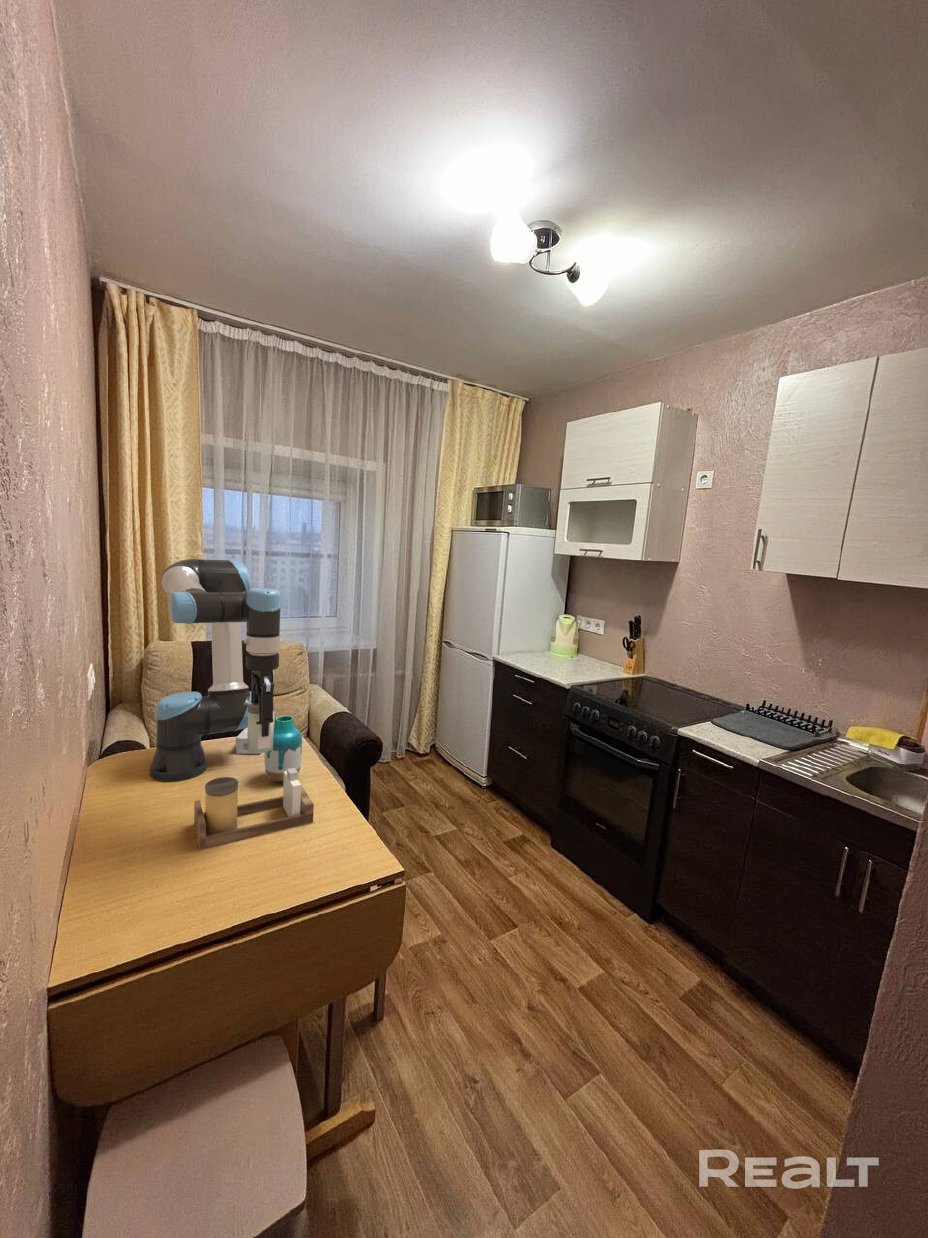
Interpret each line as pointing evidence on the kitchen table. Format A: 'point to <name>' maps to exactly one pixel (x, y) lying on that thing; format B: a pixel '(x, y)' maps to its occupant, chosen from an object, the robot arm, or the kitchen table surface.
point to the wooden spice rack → (256, 829)
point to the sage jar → (256, 729)
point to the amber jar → (221, 805)
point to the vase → (284, 749)
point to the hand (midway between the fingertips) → (260, 742)
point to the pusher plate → (291, 792)
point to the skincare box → (242, 743)
